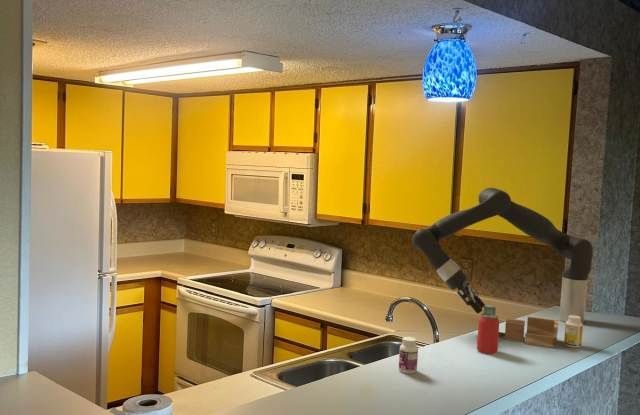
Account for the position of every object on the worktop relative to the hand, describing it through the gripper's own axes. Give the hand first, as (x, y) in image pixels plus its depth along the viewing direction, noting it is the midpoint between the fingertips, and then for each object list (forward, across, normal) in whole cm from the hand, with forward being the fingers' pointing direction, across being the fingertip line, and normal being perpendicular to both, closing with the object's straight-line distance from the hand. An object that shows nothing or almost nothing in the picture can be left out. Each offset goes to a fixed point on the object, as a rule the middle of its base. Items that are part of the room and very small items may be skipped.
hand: (481, 309), depth 226 cm
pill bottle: (-4, -52, +17) cm, 54 cm away
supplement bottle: (+28, +1, -16) cm, 32 cm away
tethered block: (+12, 0, +1) cm, 12 cm away
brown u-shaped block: (+21, 0, -9) cm, 23 cm away
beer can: (+10, -21, +3) cm, 23 cm away
